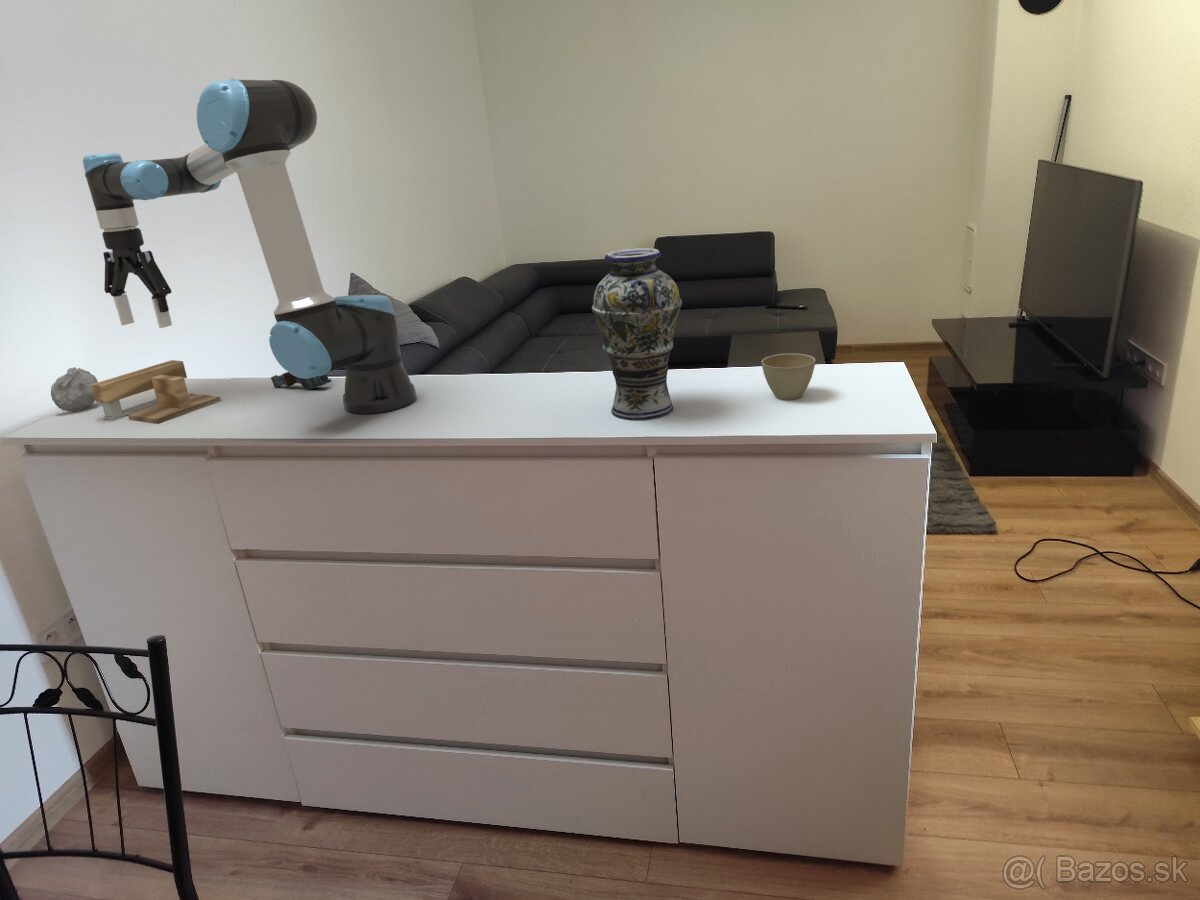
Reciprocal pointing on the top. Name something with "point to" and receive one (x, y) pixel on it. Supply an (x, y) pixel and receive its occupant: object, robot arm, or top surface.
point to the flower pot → (788, 374)
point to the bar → (135, 381)
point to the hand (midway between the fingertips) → (146, 325)
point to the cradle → (115, 410)
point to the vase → (637, 331)
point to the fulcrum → (172, 400)
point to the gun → (299, 381)
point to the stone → (74, 390)
